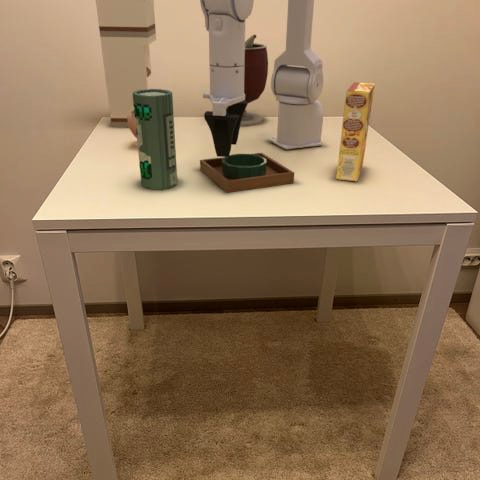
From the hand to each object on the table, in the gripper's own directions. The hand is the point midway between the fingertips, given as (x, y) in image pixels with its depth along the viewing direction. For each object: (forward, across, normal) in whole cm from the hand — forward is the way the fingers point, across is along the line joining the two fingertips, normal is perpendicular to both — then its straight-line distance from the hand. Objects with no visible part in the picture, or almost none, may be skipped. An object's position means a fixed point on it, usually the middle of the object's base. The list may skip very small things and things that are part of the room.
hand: (226, 149), depth 88 cm
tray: (+5, -2, +3) cm, 6 cm away
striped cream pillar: (+5, -38, -30) cm, 48 cm away
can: (+5, +5, -11) cm, 13 cm away
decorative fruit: (+5, -18, -20) cm, 28 cm away
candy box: (+5, -8, +22) cm, 24 cm away
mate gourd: (+5, -45, -5) cm, 45 cm away
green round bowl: (+5, -2, +3) cm, 6 cm away
